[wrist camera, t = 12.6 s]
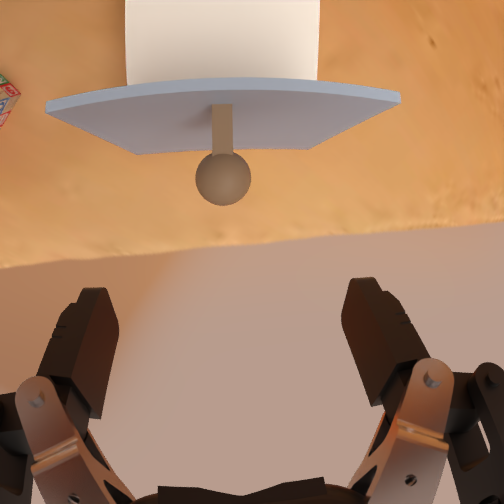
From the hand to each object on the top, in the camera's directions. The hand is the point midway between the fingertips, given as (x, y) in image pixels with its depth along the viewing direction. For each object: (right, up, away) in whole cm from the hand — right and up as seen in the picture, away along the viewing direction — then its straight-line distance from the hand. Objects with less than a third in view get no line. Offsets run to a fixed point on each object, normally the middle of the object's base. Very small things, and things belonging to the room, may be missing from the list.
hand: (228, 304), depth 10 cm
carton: (-3, +26, +23) cm, 35 cm away
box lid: (-1, +11, +11) cm, 15 cm away
